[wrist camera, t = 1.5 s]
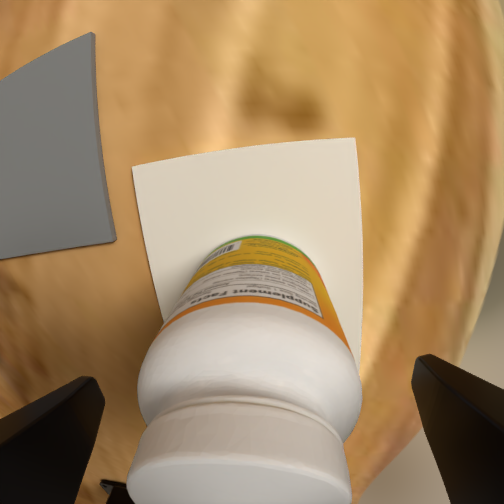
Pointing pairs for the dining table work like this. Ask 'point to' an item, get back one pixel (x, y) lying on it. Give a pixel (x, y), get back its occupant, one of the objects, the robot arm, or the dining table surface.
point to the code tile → (258, 214)
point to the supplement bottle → (248, 386)
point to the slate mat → (52, 155)
